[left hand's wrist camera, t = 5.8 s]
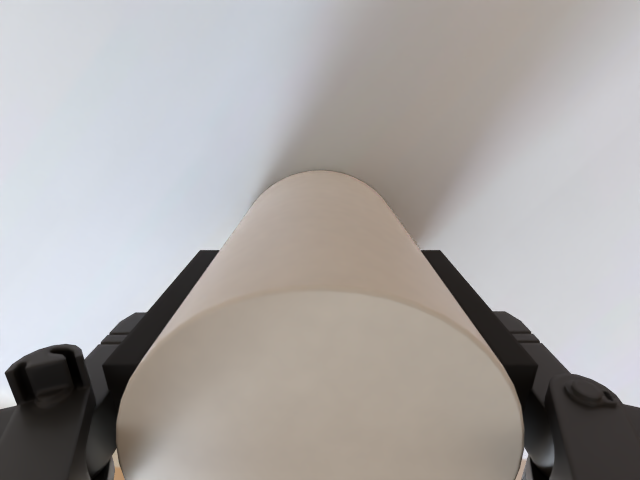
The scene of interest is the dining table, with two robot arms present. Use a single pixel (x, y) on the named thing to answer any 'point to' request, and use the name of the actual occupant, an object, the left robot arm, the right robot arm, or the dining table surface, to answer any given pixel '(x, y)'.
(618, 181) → the dining table surface
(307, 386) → the canister
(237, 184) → the dining table surface
